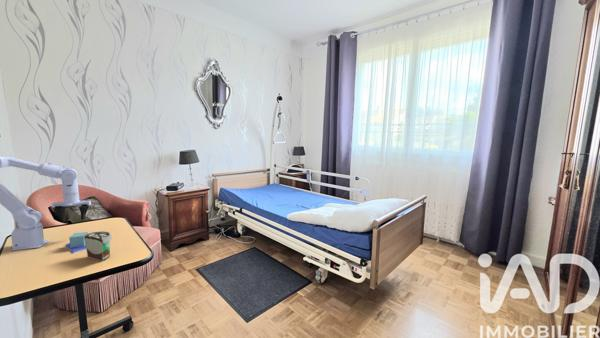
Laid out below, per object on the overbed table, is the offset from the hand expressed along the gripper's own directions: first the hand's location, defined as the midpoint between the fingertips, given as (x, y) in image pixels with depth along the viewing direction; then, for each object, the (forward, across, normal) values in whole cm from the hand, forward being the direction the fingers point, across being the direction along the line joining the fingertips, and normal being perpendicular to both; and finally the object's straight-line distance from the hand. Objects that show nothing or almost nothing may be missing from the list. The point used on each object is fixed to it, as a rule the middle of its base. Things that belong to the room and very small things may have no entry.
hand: (73, 220), depth 122 cm
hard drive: (+10, +6, -11) cm, 16 cm away
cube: (+9, +6, -11) cm, 15 cm away
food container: (+10, +19, -25) cm, 33 cm away
